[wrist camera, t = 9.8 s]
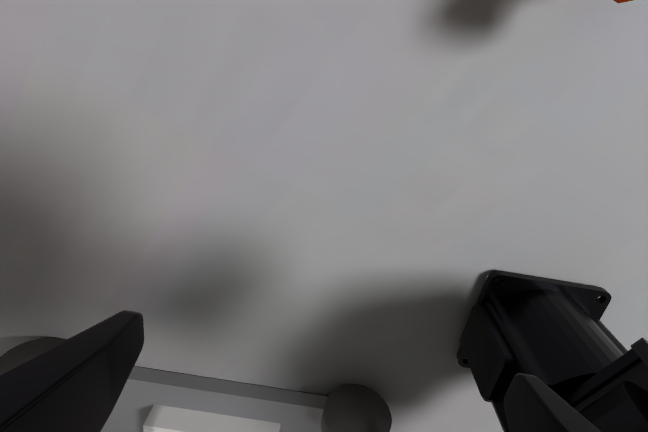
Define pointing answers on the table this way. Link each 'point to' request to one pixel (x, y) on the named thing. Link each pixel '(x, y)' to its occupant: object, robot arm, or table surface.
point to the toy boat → (620, 0)
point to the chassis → (225, 403)
